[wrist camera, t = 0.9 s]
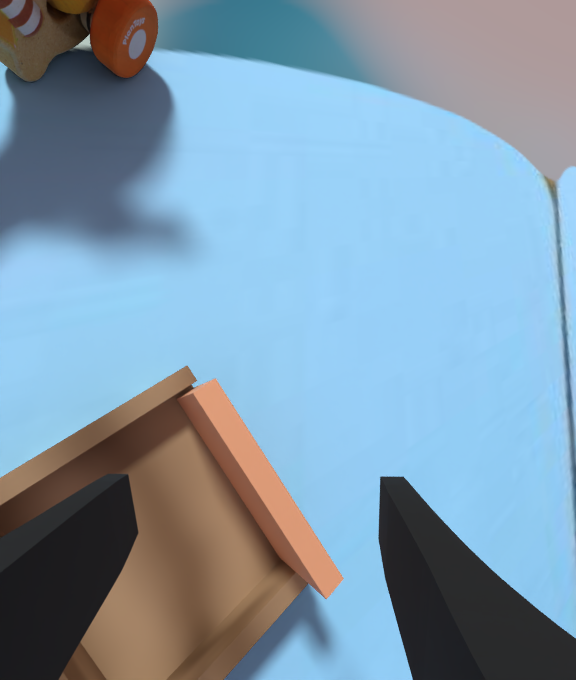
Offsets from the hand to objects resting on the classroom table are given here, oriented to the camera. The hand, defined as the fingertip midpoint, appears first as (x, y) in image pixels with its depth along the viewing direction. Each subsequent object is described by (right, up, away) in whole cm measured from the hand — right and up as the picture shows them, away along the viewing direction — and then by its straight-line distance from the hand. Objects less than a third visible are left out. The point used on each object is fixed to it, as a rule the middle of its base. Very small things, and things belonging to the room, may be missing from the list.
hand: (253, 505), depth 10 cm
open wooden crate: (-7, -6, +10) cm, 14 cm away
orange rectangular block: (-2, -3, +11) cm, 12 cm away
